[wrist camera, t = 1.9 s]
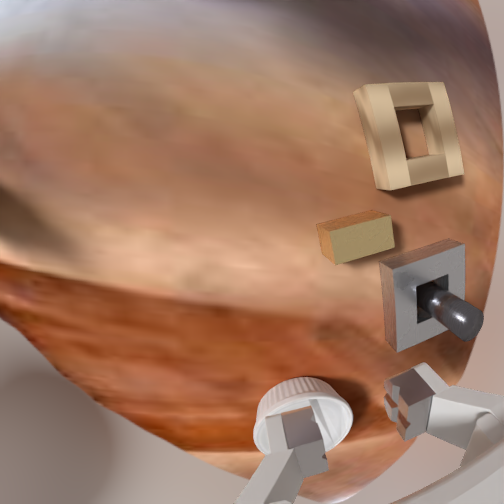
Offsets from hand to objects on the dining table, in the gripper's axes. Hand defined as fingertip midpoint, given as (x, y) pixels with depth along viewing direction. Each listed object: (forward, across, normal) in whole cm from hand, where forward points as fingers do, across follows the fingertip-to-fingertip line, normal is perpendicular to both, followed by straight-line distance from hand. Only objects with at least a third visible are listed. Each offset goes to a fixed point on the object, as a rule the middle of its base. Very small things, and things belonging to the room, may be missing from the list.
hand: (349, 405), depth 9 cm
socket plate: (+21, -16, +9) cm, 28 cm away
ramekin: (+21, +1, +20) cm, 29 cm away
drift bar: (+21, -8, 0) cm, 23 cm away
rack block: (+21, -17, -8) cm, 28 cm away
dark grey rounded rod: (+21, -16, +9) cm, 28 cm away
